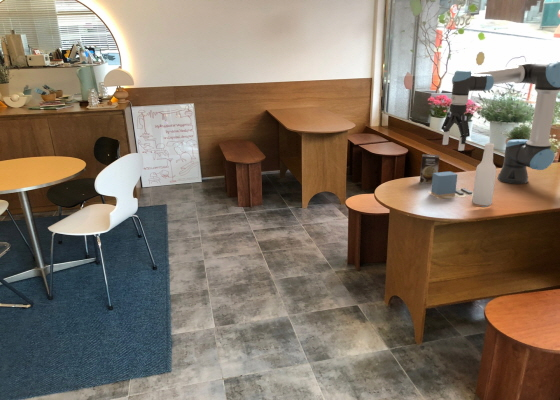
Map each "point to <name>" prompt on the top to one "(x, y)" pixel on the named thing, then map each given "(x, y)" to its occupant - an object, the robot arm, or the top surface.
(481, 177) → the alcohol
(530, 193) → the top surface
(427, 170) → the coffee box
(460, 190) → the board
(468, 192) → the graphite chip
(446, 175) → the block
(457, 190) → the graphite chip
